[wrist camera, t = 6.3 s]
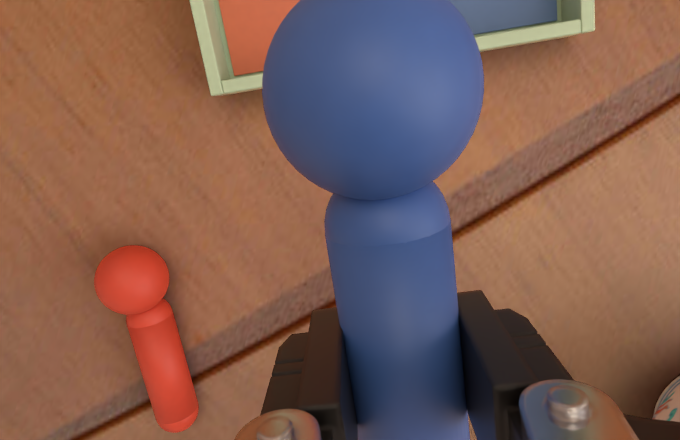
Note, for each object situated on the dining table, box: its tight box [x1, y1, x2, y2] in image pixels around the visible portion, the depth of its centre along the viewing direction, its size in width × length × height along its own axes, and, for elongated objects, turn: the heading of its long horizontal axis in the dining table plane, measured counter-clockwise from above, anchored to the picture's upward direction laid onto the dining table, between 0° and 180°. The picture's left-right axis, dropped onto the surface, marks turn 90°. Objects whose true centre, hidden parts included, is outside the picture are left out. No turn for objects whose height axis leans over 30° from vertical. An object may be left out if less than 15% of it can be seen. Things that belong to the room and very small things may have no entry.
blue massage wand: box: [262, 0, 484, 440], centre depth 9 cm, size 12×4×4 cm, turn 8°
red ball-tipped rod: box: [94, 245, 199, 433], centre depth 26 cm, size 12×4×4 cm, turn 9°
